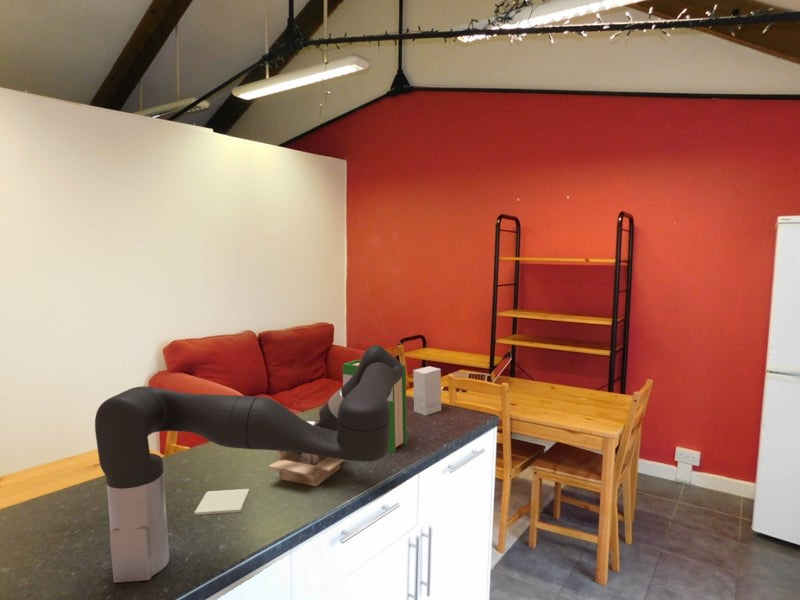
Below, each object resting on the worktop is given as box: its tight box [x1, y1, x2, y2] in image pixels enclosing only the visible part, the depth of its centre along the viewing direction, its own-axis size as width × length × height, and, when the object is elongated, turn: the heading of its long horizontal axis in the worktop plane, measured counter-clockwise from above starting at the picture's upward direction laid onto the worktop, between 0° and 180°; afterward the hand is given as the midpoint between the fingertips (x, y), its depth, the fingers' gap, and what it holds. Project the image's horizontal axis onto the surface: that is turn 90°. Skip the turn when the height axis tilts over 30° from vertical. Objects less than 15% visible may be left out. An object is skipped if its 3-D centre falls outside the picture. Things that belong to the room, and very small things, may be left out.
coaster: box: [193, 488, 250, 516], centre depth 117 cm, size 10×10×1 cm
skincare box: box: [412, 365, 442, 416], centre depth 180 cm, size 8×7×16 cm
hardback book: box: [342, 359, 408, 453], centre depth 151 cm, size 18×7×24 cm, turn 59°
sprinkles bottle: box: [301, 420, 318, 465], centre depth 131 cm, size 5×5×14 cm
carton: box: [268, 419, 345, 487], centre depth 131 cm, size 15×19×12 cm
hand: (303, 447), depth 132 cm, fingers open, 4 cm apart
